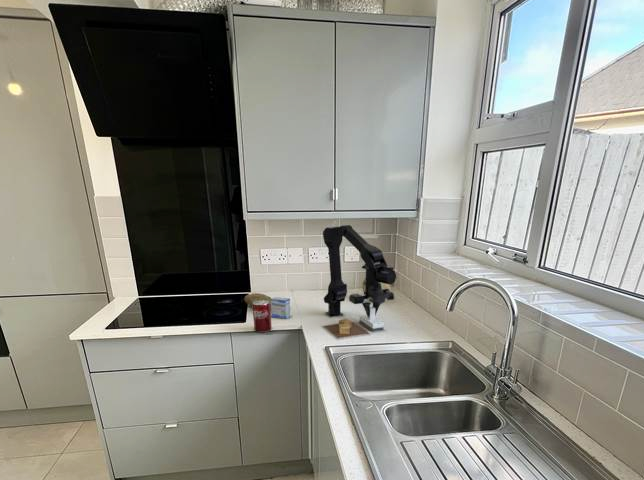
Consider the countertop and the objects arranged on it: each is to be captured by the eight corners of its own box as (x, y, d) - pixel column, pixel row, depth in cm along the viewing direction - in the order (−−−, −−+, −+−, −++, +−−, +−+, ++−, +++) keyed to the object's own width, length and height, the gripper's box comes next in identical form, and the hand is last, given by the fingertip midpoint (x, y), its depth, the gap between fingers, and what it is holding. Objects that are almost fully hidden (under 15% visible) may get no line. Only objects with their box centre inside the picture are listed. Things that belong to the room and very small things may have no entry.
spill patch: (323, 326, 175) (323, 326, 175) (352, 322, 180) (352, 321, 180) (337, 338, 161) (337, 338, 161) (369, 334, 166) (369, 333, 166)
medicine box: (271, 317, 188) (270, 299, 184) (275, 314, 191) (274, 296, 188) (286, 318, 185) (285, 300, 182) (290, 316, 189) (290, 298, 186)
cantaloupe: (395, 299, 214) (397, 271, 209) (378, 305, 205) (379, 276, 199) (373, 294, 224) (374, 267, 218) (356, 300, 214) (356, 271, 208)
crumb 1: (338, 326, 174) (338, 320, 173) (345, 325, 176) (345, 318, 175) (344, 329, 171) (344, 322, 170) (351, 327, 173) (351, 320, 172)
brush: (359, 322, 180) (359, 304, 176) (369, 321, 181) (369, 303, 178) (372, 332, 169) (373, 312, 165) (383, 330, 170) (384, 311, 167)
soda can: (266, 333, 167) (264, 305, 162) (251, 331, 169) (248, 304, 165) (274, 328, 173) (273, 301, 169) (259, 326, 176) (257, 299, 171)
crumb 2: (339, 330, 169) (339, 324, 168) (348, 330, 169) (348, 323, 168) (339, 334, 165) (339, 327, 164) (349, 334, 166) (349, 327, 164)
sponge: (277, 314, 196) (269, 295, 212) (274, 300, 191) (266, 282, 207) (251, 321, 194) (245, 302, 209) (247, 307, 189) (241, 288, 204)
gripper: (360, 286, 157) (359, 325, 163) (402, 282, 164) (399, 319, 170) (348, 281, 167) (348, 317, 173) (388, 277, 173) (386, 312, 179)
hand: (371, 316), depth 173 cm, fingers closed on brush, 2 cm apart
